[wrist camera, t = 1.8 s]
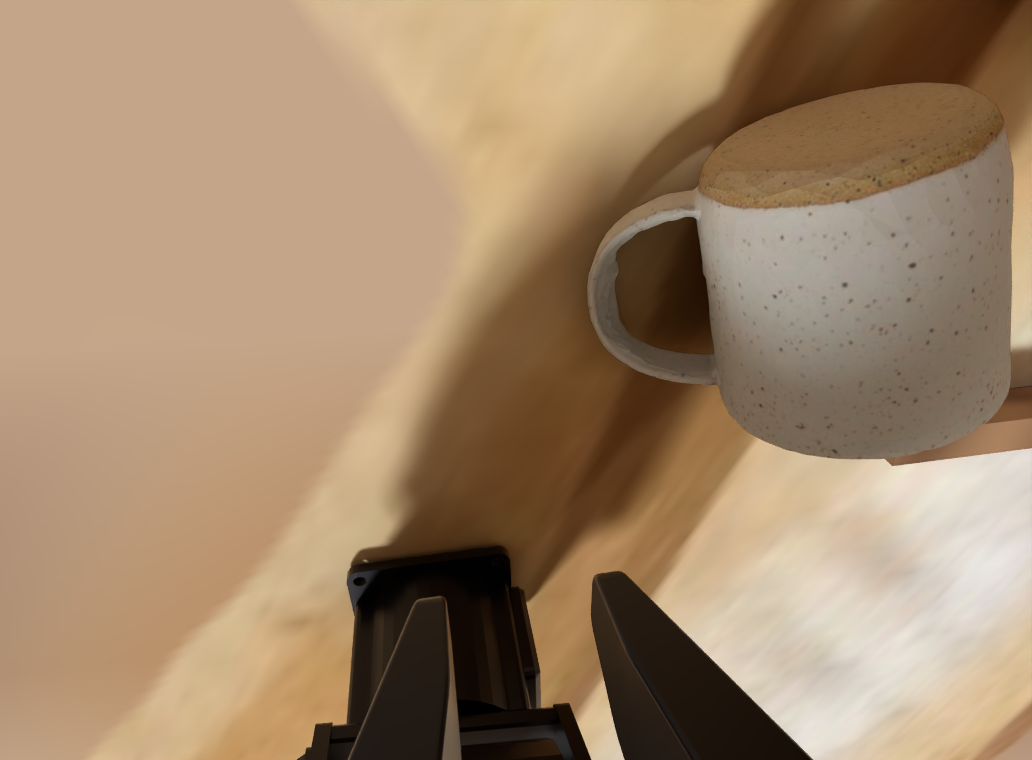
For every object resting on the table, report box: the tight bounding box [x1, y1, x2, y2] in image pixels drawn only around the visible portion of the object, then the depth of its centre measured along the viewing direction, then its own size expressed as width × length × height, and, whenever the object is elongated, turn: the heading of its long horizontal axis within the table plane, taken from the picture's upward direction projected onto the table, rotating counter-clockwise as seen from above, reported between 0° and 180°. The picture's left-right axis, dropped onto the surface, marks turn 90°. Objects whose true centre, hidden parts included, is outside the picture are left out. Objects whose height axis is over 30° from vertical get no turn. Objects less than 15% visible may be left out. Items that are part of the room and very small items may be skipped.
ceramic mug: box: [587, 83, 1014, 459], centre depth 18 cm, size 11×8×8 cm
